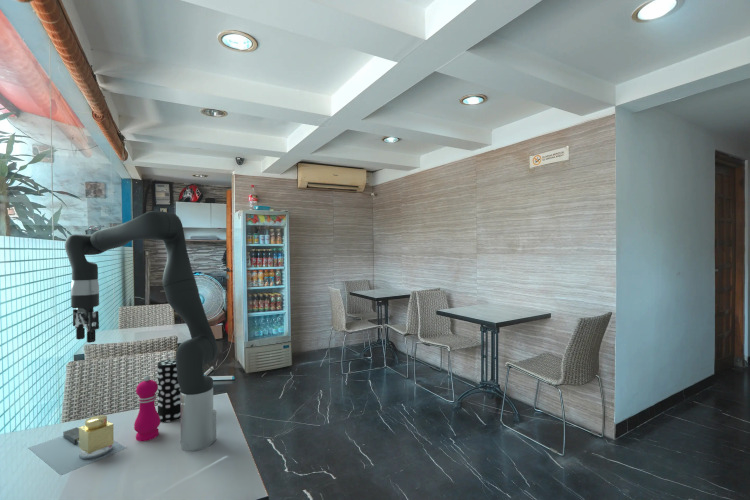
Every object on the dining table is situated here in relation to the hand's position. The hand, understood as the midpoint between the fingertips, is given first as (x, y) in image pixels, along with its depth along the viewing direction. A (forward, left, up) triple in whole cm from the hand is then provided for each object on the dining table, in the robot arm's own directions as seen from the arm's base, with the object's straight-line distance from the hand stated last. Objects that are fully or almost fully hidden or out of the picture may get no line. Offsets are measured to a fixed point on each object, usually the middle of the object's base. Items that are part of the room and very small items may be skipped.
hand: (85, 340), depth 125 cm
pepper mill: (-8, +24, -30) cm, 39 cm away
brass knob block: (+5, +21, -28) cm, 35 cm away
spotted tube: (-20, +16, -30) cm, 40 cm away
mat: (+7, +13, -30) cm, 34 cm away
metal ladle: (+5, +13, -30) cm, 33 cm away
